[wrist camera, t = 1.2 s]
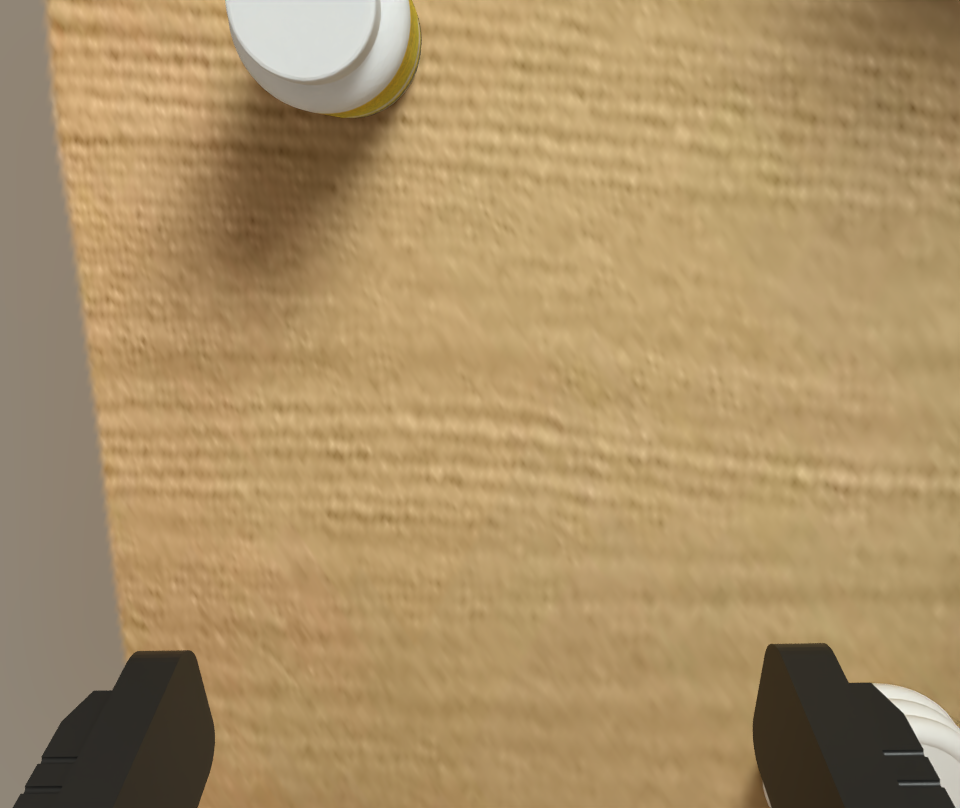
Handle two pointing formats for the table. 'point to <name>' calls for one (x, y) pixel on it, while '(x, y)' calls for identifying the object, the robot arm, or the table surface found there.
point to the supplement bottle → (329, 51)
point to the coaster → (929, 735)
